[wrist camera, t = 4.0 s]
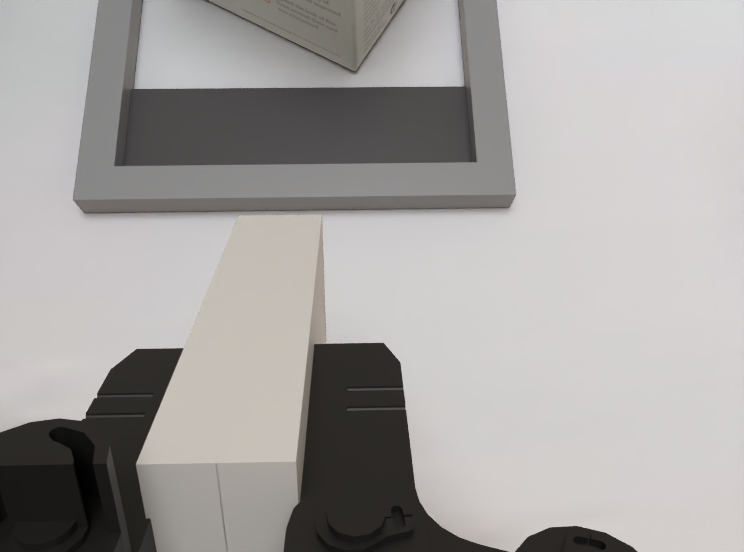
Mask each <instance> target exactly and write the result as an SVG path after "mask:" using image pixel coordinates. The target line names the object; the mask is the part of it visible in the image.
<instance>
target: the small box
mask: <svg viewBox="0 0 744 552" xmlns="http://www.w3.org/2000/svg"><path fill="white" fill-rule="evenodd" d="M208 1H210V2H212V3H214V4H216V5H218V6H221V7H223V8H225V9H227V10H229V11H231V12H233V13H235V14H237V15H239V16H241V17H243V18H245V19H247V20H249V21H251V22H254V23H256V24H258V25H260V26H262V27H264V28H266V29H268V30H270V31H272V32H274V33H276V34H278V35H280V36H282V37H284V38H286V39H288V40H290V41H293V42H295V43H297V44H299V45H301V46H303V47H305V48H307V49H309V50H311V51H313V52H316V53H318V54H320V55H322V56H324V57H326V58H328V59H330V60H332V61H334V62H336V63H338V64H340V65H342V66H344V67H346V68H348V69H350V70H352V71H356V70H357V69H358V67H359V66H360V64H361V62H362V61H363V59H364V58H365V56H366V55H367V53H368V52H369V51H370V49H371V48H372V46H373V45H374V43H375V42H376V40H377V39H378V37H379V36H380V35H381V33H382V32H383V30H384V29H385V27H386V26H387V24H388V23H389V21H390V20H391V18H392V17H393V16H394V14H395V13H396V11H397V10H398V8H399V7H400V5H401V4H402V2H403V1H404V0H208Z"/></svg>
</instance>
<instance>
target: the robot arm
mask: <svg viewBox="0 0 744 552" xmlns="http://www.w3.org/2000/svg"><path fill="white" fill-rule="evenodd" d="M0 552H507V551H503V550H499V549H495V548H491V547H487V546H483V545H479V544H476V543H474V542H471V541H468V540H465V539H462V538H459V537H457V536H456V535H454V534H452V533H451V532H449V531H447V530H445V529H444V528H442V527H441V526H440V525H439V524H437V523H436V522H435V521H434V520H433V519H432V518H431V517H430V516H429V515H428V514H427V513H426V511H425V510H424V508H423V506H422V505H421V503H420V502H419V499H418V496H417V492H416V489H415V482H414V474H413V466H412V457H411V449H410V440H409V432H408V423H407V415H406V410H405V398H404V391H403V381H402V373H401V364H400V362H399V360H398V359H397V358H396V357H395V356H394V355H393V353H392V352H391V351H390V350H389V349H388V348H387V346H386V345H385V344H384V343H348V344H326V318H325V288H324V259H323V229H322V215H239V216H238V218H237V220H236V223H235V225H234V228H233V230H232V233H231V235H230V237H229V240H228V242H227V245H226V247H225V249H224V252H223V254H222V257H221V259H220V262H219V264H218V266H217V269H216V271H215V274H214V276H213V279H212V281H211V283H210V286H209V288H208V291H207V293H206V296H205V298H204V300H203V303H202V305H201V308H200V310H199V312H198V315H197V317H196V320H195V322H194V325H193V327H192V329H191V332H190V334H189V337H188V339H187V342H186V344H185V346H184V348H176V349H136V350H135V351H134V352H132V353H131V354H130V355H129V356H127V357H126V358H125V359H124V360H122V361H121V362H120V363H118V364H117V365H116V366H115V367H113V368H112V369H111V370H110V372H109V373H108V375H107V377H106V379H105V381H104V382H103V384H102V386H101V388H100V389H99V391H98V393H97V398H94V400H93V402H92V404H91V405H90V407H89V409H88V411H87V412H86V419H83V420H82V421H77V420H68V419H52V420H44V421H37V422H30V423H27V424H24V425H21V426H18V427H15V428H12V429H9V430H6V431H3V432H1V433H0ZM515 552H637V551H636V550H635V549H634V548H633V547H631V546H629V545H627V544H626V543H624V542H622V541H620V540H618V539H616V538H614V537H612V536H610V535H609V534H607V533H604V532H600V531H595V530H591V529H587V528H583V527H578V526H570V527H551V528H548V529H545V530H543V531H541V532H538V533H536V534H534V535H531V536H529V537H527V539H526V540H525V541H524V542H523V543H522V544H521V546H520V547H519V548H518V549H517V550H516V551H515Z"/></svg>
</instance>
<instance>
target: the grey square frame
mask: <svg viewBox="0 0 744 552" xmlns="http://www.w3.org/2000/svg"><path fill="white" fill-rule="evenodd" d="M458 2H459V15H460V28H461V40H462V53H463V66H464V78H465V87H359V88H229V89H133V87H134V77H135V68H136V58H137V48H138V39H139V29H140V20H141V10H142V0H99V2H98V10H97V17H96V25H95V33H94V41H93V48H92V56H91V64H90V71H89V79H88V87H87V95H86V102H85V110H84V118H83V125H82V133H81V141H80V148H79V156H78V164H77V172H76V179H75V187H74V195H73V201H74V202H75V203H76V204H77V205H78V206H79V207H80V208H81V209H82V211H83V212H84V213H95V212H174V211H253V210H332V209H412V208H491V207H510V206H511V204H512V202H513V200H514V198H515V196H516V189H515V179H514V169H513V159H512V150H511V140H510V130H509V120H508V110H507V100H506V90H505V80H504V71H503V61H502V51H501V41H500V31H499V21H498V11H497V2H496V0H458Z"/></svg>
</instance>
